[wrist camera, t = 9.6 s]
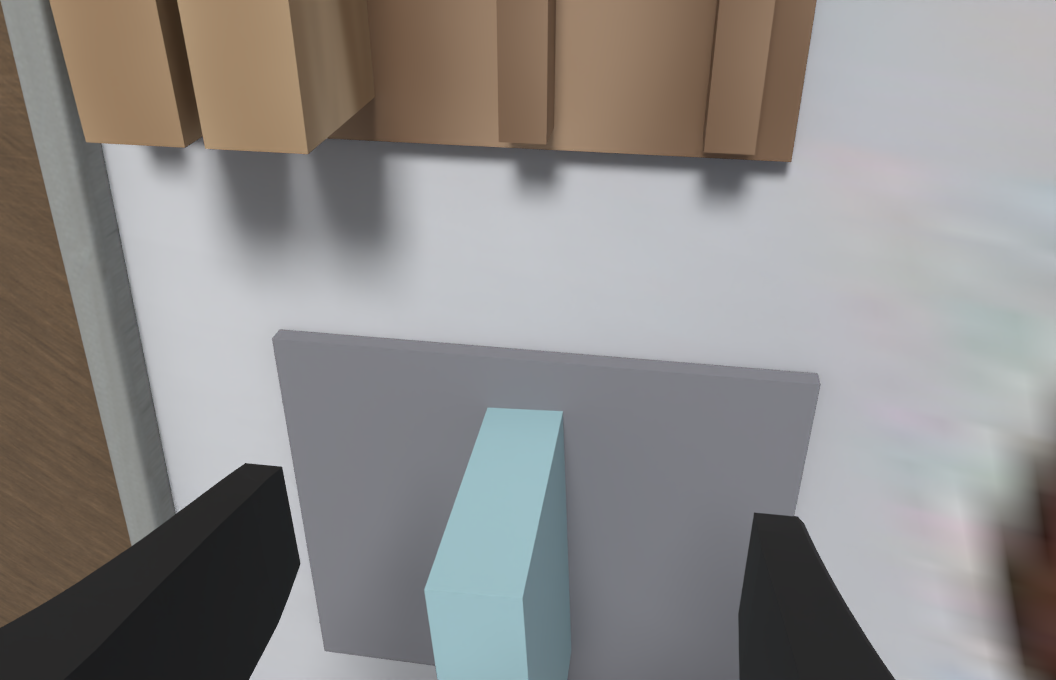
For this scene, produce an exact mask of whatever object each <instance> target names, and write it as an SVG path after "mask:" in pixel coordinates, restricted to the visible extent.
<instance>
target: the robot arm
mask: <svg viewBox="0 0 1056 680" xmlns="http://www.w3.org/2000/svg"><path fill="white" fill-rule="evenodd" d="M299 566H300V559H299V554H298V549H297V543H296V538H295V533H294V527H293V522H292V517H291V512H290V506H289V501H288V496H287V491H286V485H285V480H284V475H283V470H282V467H279V466H268V465H258V464H248V463H245V464H244V465H242V466H241V467H239V468H238V469H236V470H235V471H234V472H232V473H231V474H229V475H228V476H227V477H225V478H224V479H222V480H221V481H220V482H218V483H217V484H216V485H214V486H213V487H212V488H210V489H209V490H208V491H206V492H205V493H204V494H202V495H201V496H200V497H198V498H197V499H196V500H194V501H193V502H192V503H190V504H189V505H188V506H186V507H185V508H184V509H182V510H181V511H179V512H178V513H177V514H175V515H174V516H173V517H171V518H170V519H169V520H167V521H166V522H164V523H163V524H162V525H160V526H159V527H158V528H156V529H155V530H153V531H152V532H151V533H149V534H148V535H147V536H145V537H144V538H142V539H141V540H140V541H138V542H137V543H135V544H134V545H133V546H131V547H130V548H128V549H127V550H125V551H124V552H122V553H121V554H119V555H118V556H116V557H115V558H113V559H112V560H110V561H109V562H107V563H106V564H104V565H103V566H101V567H100V568H98V569H97V570H95V571H94V572H92V573H91V574H89V575H88V576H86V577H85V578H83V579H82V580H80V581H79V582H77V583H76V584H74V585H73V586H71V587H70V588H68V589H66V590H65V591H63V592H62V593H60V594H58V595H57V596H55V597H53V598H52V599H50V600H48V601H47V602H45V603H43V604H42V605H40V606H38V607H36V608H35V609H33V610H31V611H29V612H28V613H26V614H24V615H22V616H21V617H19V618H17V619H15V620H14V621H12V622H10V623H8V624H6V625H5V626H3V627H1V628H0V680H249V678H250V676H251V674H252V673H253V671H254V669H255V667H256V665H257V663H258V661H259V659H260V657H261V656H262V654H263V652H264V650H265V648H266V646H267V644H268V642H269V640H270V638H271V636H272V634H273V633H274V631H275V629H276V627H277V625H278V623H279V620H280V618H281V615H282V612H283V610H284V607H285V605H286V602H287V600H288V597H289V594H290V592H291V589H292V586H293V583H294V580H295V578H296V575H297V572H298V569H299ZM738 626H739V680H895V679H894V677H893V676H892V674H891V673H890V671H889V670H888V669H887V667H886V666H885V664H884V663H883V661H882V660H881V658H880V657H879V655H878V654H877V652H876V651H875V649H874V648H873V646H872V645H871V643H870V642H869V640H868V639H867V637H866V635H865V634H864V632H863V631H862V629H861V627H860V626H859V624H858V622H857V621H856V619H855V618H854V616H853V614H852V613H851V611H850V610H849V608H848V606H847V605H846V603H845V601H844V600H843V598H842V596H841V594H840V593H839V591H838V589H837V587H836V586H835V584H834V582H833V580H832V578H831V577H830V575H829V573H828V571H827V569H826V567H825V565H824V564H823V562H822V560H821V558H820V556H819V554H818V552H817V550H816V548H815V546H814V544H813V542H812V540H811V538H810V536H809V533H808V531H807V529H806V527H805V525H804V523H803V522H802V521H801V520H800V519H799V518H798V517H796V516H786V515H776V514H765V513H755V512H754V516H753V522H752V529H751V535H750V542H749V548H748V554H747V561H746V567H745V574H744V580H743V587H742V593H741V599H740V606H739V612H738Z"/></svg>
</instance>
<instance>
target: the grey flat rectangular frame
mask: <svg viewBox="0 0 1056 680" xmlns="http://www.w3.org/2000/svg"><path fill="white" fill-rule="evenodd" d="M174 515H175V509H174V504H173V499H172V494H171V489H170V484H169V479H168V474H167V469H166V464H165V459H164V454H163V449H162V444H161V439H160V434H159V429H158V425H157V420H156V415H155V410H154V405H153V400H152V395H151V390H150V385H149V380H148V375H147V370H146V365H145V360H144V355H143V350H142V345H141V340H140V335H139V330H138V325H137V320H136V315H135V310H134V305H133V300H132V295H131V290H130V285H129V280H128V275H127V270H126V265H125V260H124V255H123V250H122V245H121V240H120V235H119V230H118V225H117V220H116V215H115V210H114V205H113V200H112V195H111V190H110V185H109V180H108V175H107V171H106V166H105V161H104V156H103V151H102V146H101V143H90V142H86V140H85V136H84V132H83V128H82V125H81V121H80V117H79V113H78V109H77V105H76V101H75V97H74V94H73V90H72V86H71V82H70V78H69V74H68V70H67V66H66V63H65V59H64V55H63V51H62V47H61V43H60V39H59V35H58V32H57V28H56V24H55V20H54V16H53V12H52V8H51V5H50V1H49V0H0V628H1V627H3V626H5V625H6V624H8V623H10V622H12V621H14V620H15V619H17V618H19V617H21V616H22V615H24V614H26V613H28V612H29V611H31V610H33V609H35V608H36V607H38V606H40V605H42V604H43V603H45V602H47V601H48V600H50V599H52V598H53V597H55V596H57V595H58V594H60V593H62V592H63V591H65V590H66V589H68V588H70V587H71V586H73V585H74V584H76V583H77V582H79V581H80V580H82V579H83V578H85V577H86V576H88V575H89V574H91V573H92V572H94V571H95V570H97V569H98V568H100V567H101V566H103V565H104V564H106V563H107V562H109V561H110V560H112V559H113V558H115V557H116V556H118V555H119V554H121V553H122V552H124V551H125V550H127V549H128V548H130V547H131V546H133V545H134V544H135V543H137V542H138V541H140V540H141V539H142V538H144V537H145V536H147V535H148V534H149V533H151V532H152V531H153V530H155V529H156V528H158V527H159V526H160V525H162V524H163V523H164V522H166V521H167V520H169V519H170V518H171V517H173V516H174Z"/></svg>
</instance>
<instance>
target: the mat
mask: <svg viewBox="0 0 1056 680" xmlns="http://www.w3.org/2000/svg"><path fill="white" fill-rule="evenodd" d="M272 341H273V347H274V353H275V359H276V365H277V371H278V377H279V383H280V389H281V395H282V401H283V406H284V412H285V418H286V424H287V430H288V436H289V442H290V448H291V454H292V460H293V466H294V472H295V478H296V484H297V489H298V495H299V501H300V507H301V513H302V519H303V525H304V531H305V537H306V543H307V549H308V555H309V561H310V567H311V572H312V578H313V584H314V590H315V596H316V602H317V608H318V614H319V620H320V626H321V632H322V638H323V644H324V649H325V651H329V652H336V653H344V654H351V655H359V656H366V657H374V658H381V659H389V660H396V661H404V662H412V663H419V664H427V665H434V666H435V659H434V652H433V646H432V639H431V632H430V625H429V619H428V612H427V605H426V599H425V592H424V589H425V586H426V583H427V580H428V578H429V575H430V572H431V569H432V566H433V563H434V560H435V557H436V555H437V552H438V549H439V546H440V543H441V540H442V537H443V534H444V532H445V529H446V526H447V523H448V520H449V517H450V514H451V511H452V509H453V506H454V503H455V500H456V497H457V494H458V491H459V488H460V486H461V483H462V480H463V477H464V474H465V471H466V468H467V465H468V462H469V460H470V457H471V454H472V451H473V448H474V445H475V442H476V439H477V437H478V434H479V431H480V428H481V425H482V422H483V419H484V416H485V414H486V411H487V408H506V409H527V410H547V411H563V429H564V457H565V485H566V513H567V541H568V569H569V596H570V624H571V657H570V664H569V671H568V678H567V680H739V626H738V612H739V606H740V599H741V593H742V587H743V580H744V574H745V567H746V561H747V554H748V548H749V542H750V535H751V529H752V522H753V516H754V512H755V513H765V514H776V515H786V516H794V514H795V509H796V504H797V499H798V494H799V489H800V484H801V479H802V474H803V469H804V464H805V459H806V454H807V449H808V444H809V439H810V434H811V429H812V424H813V419H814V414H815V409H816V404H817V399H818V394H819V389H820V381H819V376H818V374H816V373H804V372H791V371H779V370H767V369H755V368H743V367H730V366H718V365H706V364H694V363H682V362H669V361H657V360H645V359H633V358H621V357H608V356H596V355H584V354H572V353H559V352H547V351H535V350H523V349H511V348H498V347H486V346H474V345H462V344H450V343H437V342H425V341H413V340H401V339H389V338H376V337H364V336H352V335H340V334H328V333H315V332H303V331H291V330H279V331H278V332H277V333H276V335H275V336H274V337H273V338H272Z"/></svg>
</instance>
